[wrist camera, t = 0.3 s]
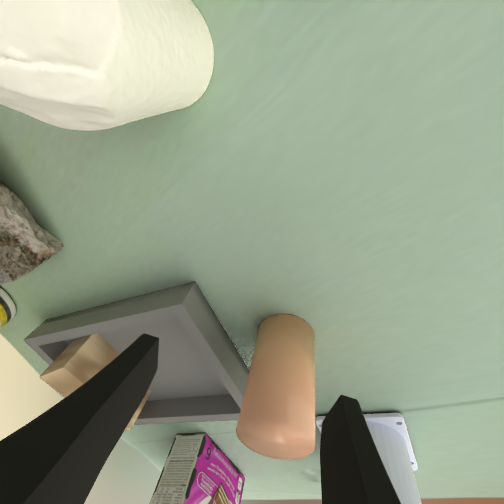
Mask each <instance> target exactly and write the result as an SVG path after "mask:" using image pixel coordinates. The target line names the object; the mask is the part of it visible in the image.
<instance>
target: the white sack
mask: <svg viewBox="0 0 504 504" xmlns="http://www.w3.org/2000/svg"><path fill="white" fill-rule="evenodd" d="M213 64H214V51H213V43H212V39H211V35H210V33H209V30H208V27H207V25H206V22H205V20H204V18H203V16H202V15H201V14H200V12H199V10H198V9H197V7H196V6H195V5H194V4H193V3H192V1H191V0H0V104H1V105H3V106H6V107H9V108H12V109H15V110H17V111H20V112H22V113H25V114H27V115H29V116H31V117H34V118H36V119H38V120H41V121H43V122H45V123H48V124H51V125H54V126H57V127H60V128H64V129H69V130H80V131H95V130H104V129H109V128H112V127H116V126H120V125H124V124H127V123H129V122H133V121H137V120H140V119H143V118H147V117H151V116H155V115H159V114H163V113H167V112H170V111H174V110H179V109H182V108H186V107H188V106H190V105H192V104H193V103H194V102H195V101H197V100H198V99H199V98H200V97H201V96H202V94H203V93H204V92H205V91H206V89H207V87H208V85H209V82H210V78H211V76H212V73H213Z"/></svg>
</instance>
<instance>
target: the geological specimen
mask: <svg viewBox="0 0 504 504" xmlns="http://www.w3.org/2000/svg"><path fill="white" fill-rule="evenodd" d="M62 247H63V244H62V243H61V241H60V240H59V239H57V238H56V237H55V236H53V235H51V234H50V233H49V232H48V231H47V230H45V229H42V228H41V227H40V226H39V225H38V224H37V222H36V220H35V219H34V218H33V216H32V215H31V213H30V212H29V210H28V208H27V207H25V205H24V203H23V202H22V201H21V199H20V198H19V197H18V196H17V195H16V194H15V193H13V192H12V191H10V190H9V189H8V187H6V186H4V185H2V183H1V182H0V284H2V283H8V282H13V281H14V280H16V279H18V278H19V277H21V276H23V275H25V274H27V273H29V272H31V271H32V270H34V269H35V268H36V267H37V266H38V265H40V264H42V262H43V261H45V260H48V259H50V257H51V256H52V255H54V254H55V253H57V252H58V251H59V250H60V249H61V248H62Z"/></svg>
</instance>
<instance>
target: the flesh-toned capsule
mask: <svg viewBox="0 0 504 504" xmlns="http://www.w3.org/2000/svg"><path fill="white" fill-rule="evenodd" d="M236 433H237V436H238V438H239V440H240V441H241V442H242V443H243V444H244V445H245V446H246V447H248V448H249V449H251V450H253V451H254V452H256V453H259V454H261V455H264V456H267V457H271V458H275V459H283V460H294V459H301V458H304V457H306V456H308V455H310V454H311V453H312V452H313V451H314V449H315V334H314V331H313V329H312V327H311V326H310V325H309V324H308V323H307V322H306V321H305V320H303V319H301V318H299V317H297V316H294V315H290V314H276V315H272V316H269V317H268V318H266V319H264V320H263V321H262V323H261V324H260V326H259V330H258V334H257V339H256V343H255V347H254V352H253V356H252V361H251V365H250V370H249V374H248V379H247V383H246V388H245V392H244V397H243V401H242V406H241V410H240V415H239V419H238V424H237V428H236Z"/></svg>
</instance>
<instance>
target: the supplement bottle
mask: <svg viewBox="0 0 504 504" xmlns="http://www.w3.org/2000/svg"><path fill="white" fill-rule="evenodd" d="M15 313H16V308H15V305H14V302H13V301H12V299H11V298H10V297H9V295H8V294H7V293H6V292H5V291H4V290H3V289H2V288H0V328H1V327H2V326H3V325H5V324H6V323H7V322H8V321H10V320H11V319H12V318H13V317H14V316H15Z"/></svg>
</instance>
